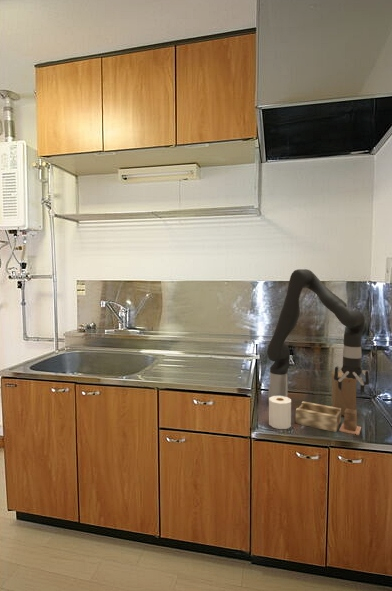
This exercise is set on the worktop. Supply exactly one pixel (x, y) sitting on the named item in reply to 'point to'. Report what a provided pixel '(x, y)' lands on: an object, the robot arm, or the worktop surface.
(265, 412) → the worktop surface
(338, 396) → the wooden block
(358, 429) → the tile
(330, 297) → the robot arm
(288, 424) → the toilet paper
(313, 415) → the crate
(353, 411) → the walnut block
